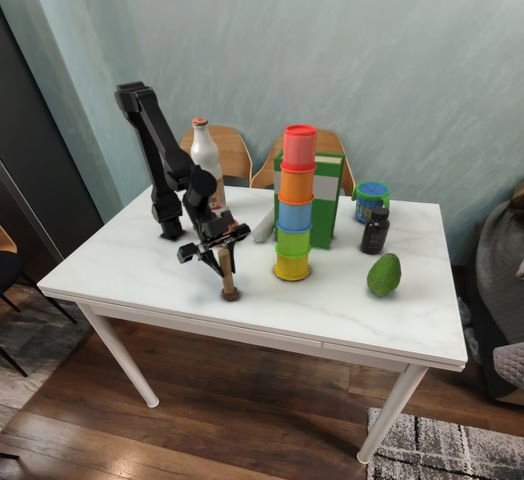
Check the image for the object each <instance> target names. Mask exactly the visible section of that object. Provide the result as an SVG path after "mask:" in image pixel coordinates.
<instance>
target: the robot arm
mask: <svg viewBox="0 0 524 480" xmlns="http://www.w3.org/2000/svg"><path fill="white" fill-rule="evenodd" d="M113 96H114V100H115V102H116V105H117V107H118V109H119V111H121V114H122V116H123V118H125V120H126V121H127V122H128V123H129V124H130V125H131V126H132V127H133V130H134V133H135V136H136V138H137V141H138V145H139V148H140V151H141V154H142V157H143V160H144V162H145V166H146V169H147V172H148V175H149V179H150V182H151V184H152V189H151V194H150V199H151V202H152V204H151V215H152V218H153V219H154V220H155V222H157V224H158V225H160V228H161V231H162V233H161V234H160V235H159V236H160V238H163V239H166V240H169V241H173V242H175V241H177V240H178V239H180V238H181V237H182V236H184V235H185V234H186V233H187V231H186V230H185V229H183V225H182V222H181V220H180V217H183V216H184V210H183V208H184V209H185V211H186V213H187V216H188V217H189V220H190V223H191V224H192V229H193V231H194V232H195V233H196V235H197V237H198V239H199V241H200V242H199V244H196V243H194V241H191V242H189V243H186V244H184V245H180V246H179V247H178V250H177V253H176V258H177V260H178V262H179V264H180V265H184V264H185V263H189V262H191V261H193V259H194V256H195V255H196V256H197V261H198V262H201V261H202V262H203V263H204V264H206V265H207V266H208V267H209V268H211V269H212V270H213V271H214V272H215V273H216V274H217V275H218V276H219V277H220V278H221V279H222V278H225V276H224V274H223V271H222V269H221V268H220V265H219V261H217V258H216V256H215V253H214V250H213V248H217V247H220V246H219V245H221V244H222V245H223V246H222V249H228V250H229V254H230V261H231V268H232V275H235V274H236V261H235V246H236V244H237V243H240V242H243V241H245V240H246V239H247V238H248V237H249V236H250V235H251V234H252V229H251V227H250V225H248V224H247V223H245V222H243V223H241V224H240V223H239V225H238V226H235V227H233V228H232V229H231V231H230V230H229V226H230V225H233V224H234V219H235V218H234V215H233V214H232V212H231V209H226V211H223V212H221V215H220V216H217V215H216V213H215V212H212V209H211V207H210V205H209V204H210V203H211V201H212V198H213V196H214V194H215V192H216V190H217V181H216V178H215V177H214V176H213V175H212V174H211V173H210V172H208V171H206V170H203V169H201V166H200V165H199V164H198V165H196V164H195V163H194V161H193V159H192V157H191V154H190V153H189V152H188V151H186V150H184V149H183V148H182V147H181V146H180V145H179V143H178V141H177V139H176V137H175V135H174V133H173V131H172V129H171V127H170V125H169V123H168V121H167V119H166V117H165V115H164V114H163V111H162V109H161V106H160V105H159V100H158V95H157V94H156V91H155V90H154V88H153V86H151V85H146V84H145V83H144V82H143V81H142V80H138V81H132V82H126V83H120V84H117V85H116V91H114V92H113ZM162 160H163V161H162ZM183 191H185V192H184V193H183V194H182V199H180V198H179V195H178V194H177V193H180V192H183ZM228 231H230V232H229V233H228V234H225V235H223V234H224V233H225V232H228ZM217 241H218V242H217Z"/></svg>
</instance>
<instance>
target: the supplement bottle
mask: <svg viewBox="0 0 524 480" xmlns="http://www.w3.org/2000/svg"><path fill="white" fill-rule="evenodd" d="M390 213H391V211H390V208H389V209H387V208H385V207H384V206H383V207H375V208H373V209H372V213H371V217H370V218H368V219H367V220H366V223H364V227H363V231H362V232H363V233H362V238H361V242H360V250H361V251H362V252H363V253H365V254H367V255H377V254H380V253H382V251H383V249H384V247H385V245H386V241H387V237H388V233H389V230H390V227H391V222H390V220H389V217H390Z"/></svg>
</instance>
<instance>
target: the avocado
mask: <svg viewBox="0 0 524 480" xmlns="http://www.w3.org/2000/svg"><path fill="white" fill-rule="evenodd" d="M401 278H402V267H401V260H400V258H399V257H398V255H397V254H396V253H393V252H386V253H384V254H382V255H381V256H380V257H379V258H378V259H377V260H376V262H375V263H374V264H372V266H371V267H370V269H369V270H368V273H367V276H366V284H367V288H368V289H369V291H370V293H371V294H372V295H375V296H378V297H384V296H387V295H389V294H391V293H392V292H394V291H395V289H397V288H398V286H399V284H400V282H401Z"/></svg>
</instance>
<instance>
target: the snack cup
mask: <svg viewBox="0 0 524 480" xmlns="http://www.w3.org/2000/svg"><path fill="white" fill-rule="evenodd" d="M390 194H391V188H390V186H388V185H387V184H384V183H382V182H379V181H364V182H361V183H359V184H357V185H355V187H354V189H353V190H352V194H351V198H350V199H351V201H352V202H355V215H354V216H355V217H354V218H355V220H357V221H358V222H360V223H362V224H365V223H366V220H367V219H368V218H370V217H371V213H372V209H373V208H375V207H384V208H387V209H389V210H390V209H391V201H390Z"/></svg>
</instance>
